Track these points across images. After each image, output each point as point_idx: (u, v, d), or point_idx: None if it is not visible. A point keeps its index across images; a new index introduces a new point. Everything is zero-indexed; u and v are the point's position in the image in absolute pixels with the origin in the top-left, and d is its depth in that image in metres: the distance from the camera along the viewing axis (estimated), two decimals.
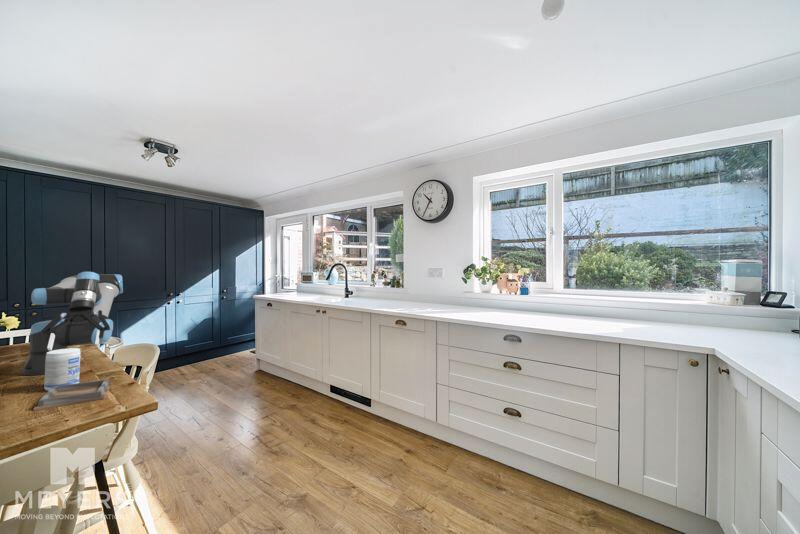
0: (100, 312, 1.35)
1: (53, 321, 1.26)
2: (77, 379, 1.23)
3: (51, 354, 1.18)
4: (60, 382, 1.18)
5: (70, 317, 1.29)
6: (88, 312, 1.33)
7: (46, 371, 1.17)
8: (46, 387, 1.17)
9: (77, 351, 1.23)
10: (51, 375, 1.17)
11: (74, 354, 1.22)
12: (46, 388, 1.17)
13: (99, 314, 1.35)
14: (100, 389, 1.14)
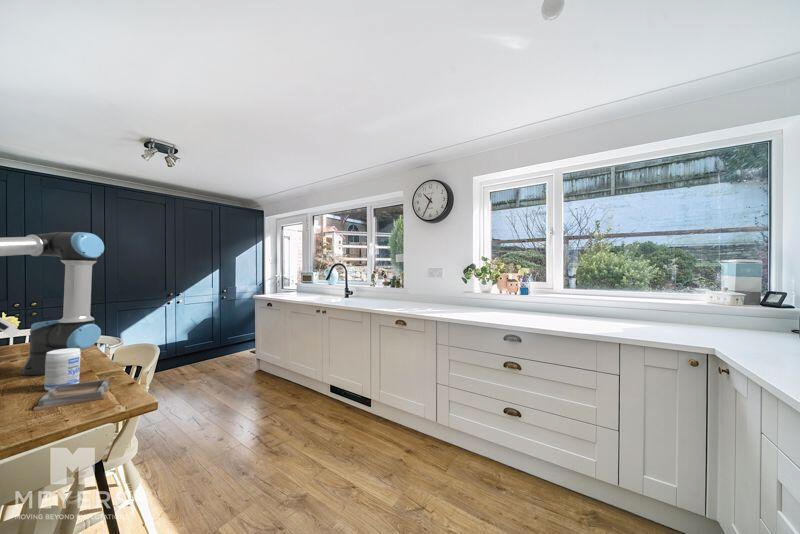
0: None
1: None
2: (77, 379, 1.23)
3: (51, 354, 1.18)
4: (60, 382, 1.18)
5: None
6: None
7: (46, 371, 1.17)
8: (46, 387, 1.17)
9: (77, 351, 1.23)
10: (51, 375, 1.17)
11: (74, 354, 1.22)
12: (46, 388, 1.17)
13: None
14: (100, 389, 1.14)
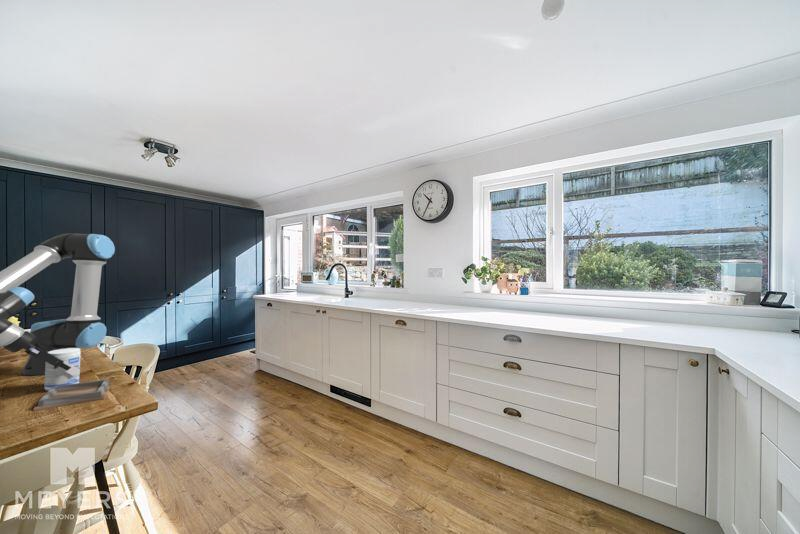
0: (32, 354, 1.11)
1: None
2: (77, 379, 1.23)
3: (51, 354, 1.18)
4: (60, 381, 1.18)
5: None
6: (27, 350, 1.13)
7: (46, 371, 1.17)
8: (46, 387, 1.17)
9: (77, 351, 1.23)
10: (51, 375, 1.17)
11: (74, 354, 1.22)
12: (46, 388, 1.17)
13: (34, 355, 1.12)
14: (100, 389, 1.14)
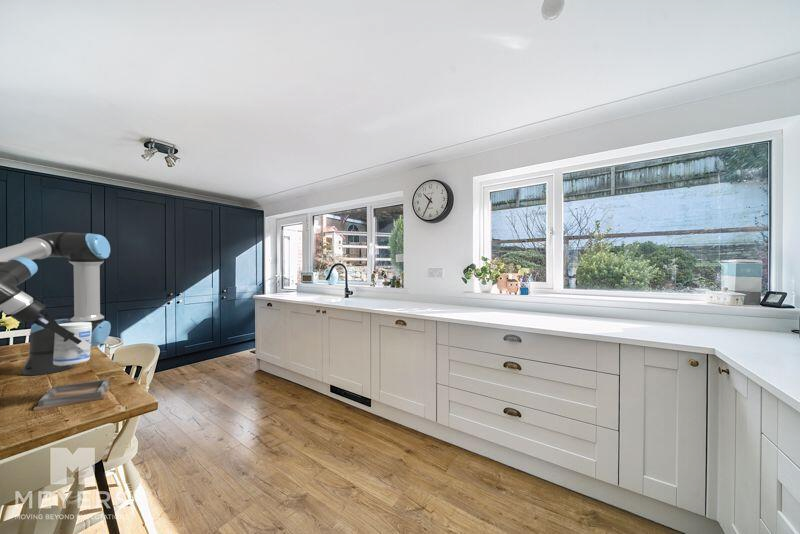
0: (41, 324, 1.03)
1: None
2: (88, 355, 1.15)
3: None
4: (70, 356, 1.10)
5: None
6: (36, 320, 1.05)
7: (55, 344, 1.09)
8: (55, 361, 1.09)
9: (88, 324, 1.15)
10: (60, 348, 1.09)
11: (85, 328, 1.14)
12: (55, 362, 1.09)
13: (43, 325, 1.04)
14: (100, 389, 1.14)
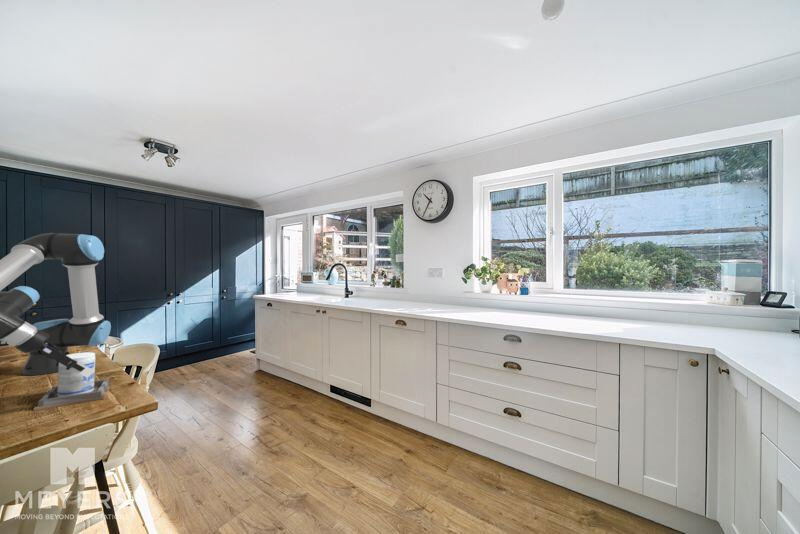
0: (43, 354, 1.02)
1: None
2: (92, 386, 1.15)
3: None
4: (75, 389, 1.10)
5: None
6: (41, 351, 1.05)
7: (59, 377, 1.09)
8: (59, 395, 1.09)
9: (92, 356, 1.15)
10: (65, 381, 1.09)
11: (89, 359, 1.14)
12: (59, 396, 1.09)
13: (47, 355, 1.03)
14: (100, 389, 1.14)
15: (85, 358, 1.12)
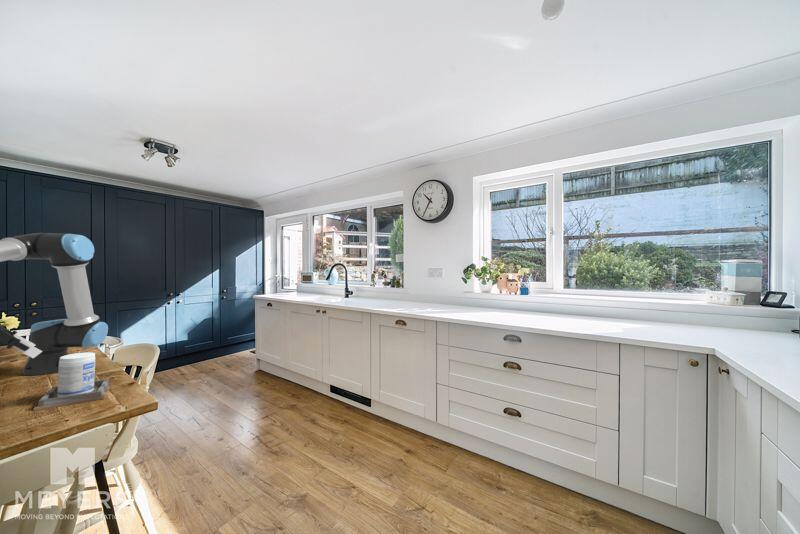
0: None
1: None
2: (92, 386, 1.15)
3: (65, 359, 1.09)
4: (75, 389, 1.10)
5: None
6: None
7: (59, 377, 1.09)
8: (59, 395, 1.09)
9: (92, 356, 1.15)
10: (65, 381, 1.09)
11: (89, 359, 1.14)
12: (59, 396, 1.09)
13: None
14: (100, 389, 1.14)
15: (85, 358, 1.12)
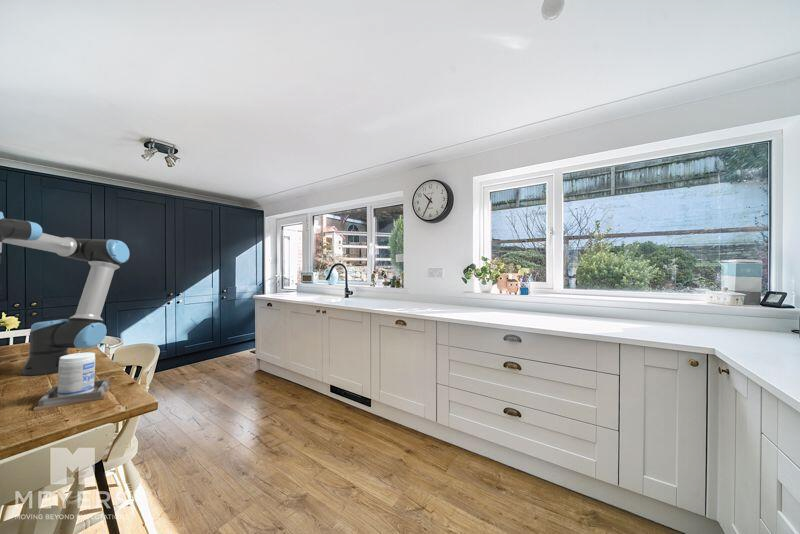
0: None
1: None
2: (92, 386, 1.15)
3: (65, 359, 1.09)
4: (75, 389, 1.10)
5: None
6: None
7: (59, 377, 1.09)
8: (59, 395, 1.09)
9: (92, 356, 1.15)
10: (65, 381, 1.09)
11: (89, 359, 1.14)
12: (59, 396, 1.09)
13: None
14: (100, 389, 1.14)
15: (85, 358, 1.12)
